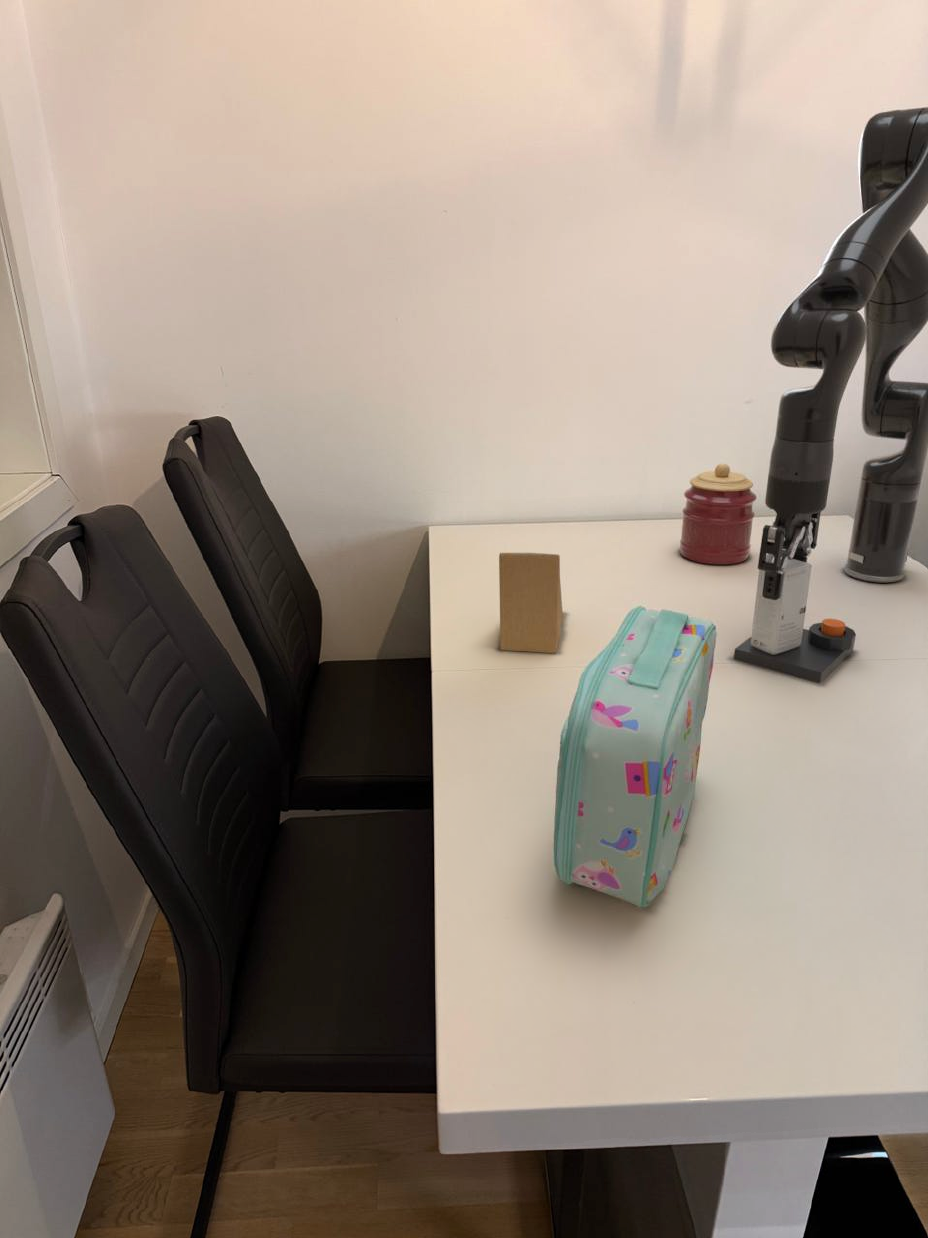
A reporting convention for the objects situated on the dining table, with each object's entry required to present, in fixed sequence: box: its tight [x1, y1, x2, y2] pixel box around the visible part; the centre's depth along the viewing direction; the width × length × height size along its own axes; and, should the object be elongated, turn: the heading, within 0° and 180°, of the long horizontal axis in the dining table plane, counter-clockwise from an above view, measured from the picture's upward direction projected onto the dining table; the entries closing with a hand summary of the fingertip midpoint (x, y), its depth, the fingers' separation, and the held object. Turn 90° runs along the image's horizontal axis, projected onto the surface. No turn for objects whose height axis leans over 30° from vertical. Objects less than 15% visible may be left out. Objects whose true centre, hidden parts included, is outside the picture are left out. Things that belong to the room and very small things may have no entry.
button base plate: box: [733, 622, 857, 684], centre depth 118 cm, size 13×12×4 cm
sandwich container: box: [498, 552, 564, 654], centre depth 126 cm, size 9×15×15 cm, turn 170°
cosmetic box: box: [750, 559, 813, 655], centre depth 116 cm, size 6×4×12 cm
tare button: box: [821, 618, 846, 636], centre depth 118 cm, size 3×3×2 cm
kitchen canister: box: [679, 462, 757, 565], centre depth 157 cm, size 13×13×18 cm
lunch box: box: [553, 605, 718, 908], centre depth 79 cm, size 27×10×21 cm, turn 157°
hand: (783, 589), depth 115 cm, fingers open, 8 cm apart
